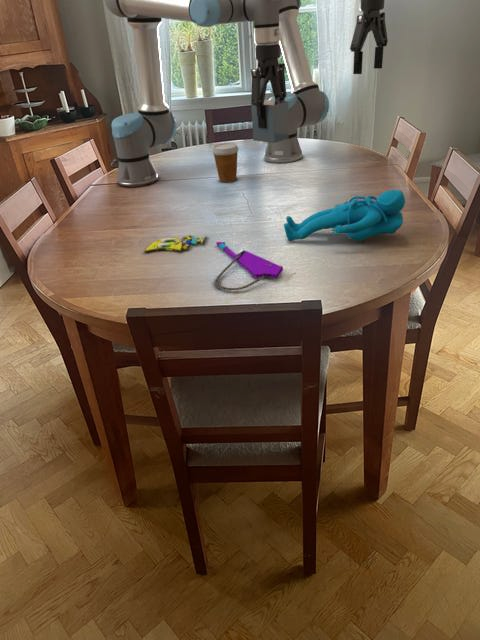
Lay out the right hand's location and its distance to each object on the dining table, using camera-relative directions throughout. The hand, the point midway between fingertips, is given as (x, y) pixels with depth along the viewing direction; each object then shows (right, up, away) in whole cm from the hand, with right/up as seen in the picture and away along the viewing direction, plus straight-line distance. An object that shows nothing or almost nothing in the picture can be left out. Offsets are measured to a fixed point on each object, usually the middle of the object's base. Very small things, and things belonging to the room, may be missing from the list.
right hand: (367, 71), depth 162 cm
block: (-33, -25, -5) cm, 42 cm away
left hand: (-34, -21, -7) cm, 40 cm away
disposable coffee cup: (-48, -33, +14) cm, 60 cm away
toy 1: (-61, -64, -32) cm, 94 cm away
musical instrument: (-45, -72, -47) cm, 97 cm away
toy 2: (-17, -63, -37) cm, 75 cm away
